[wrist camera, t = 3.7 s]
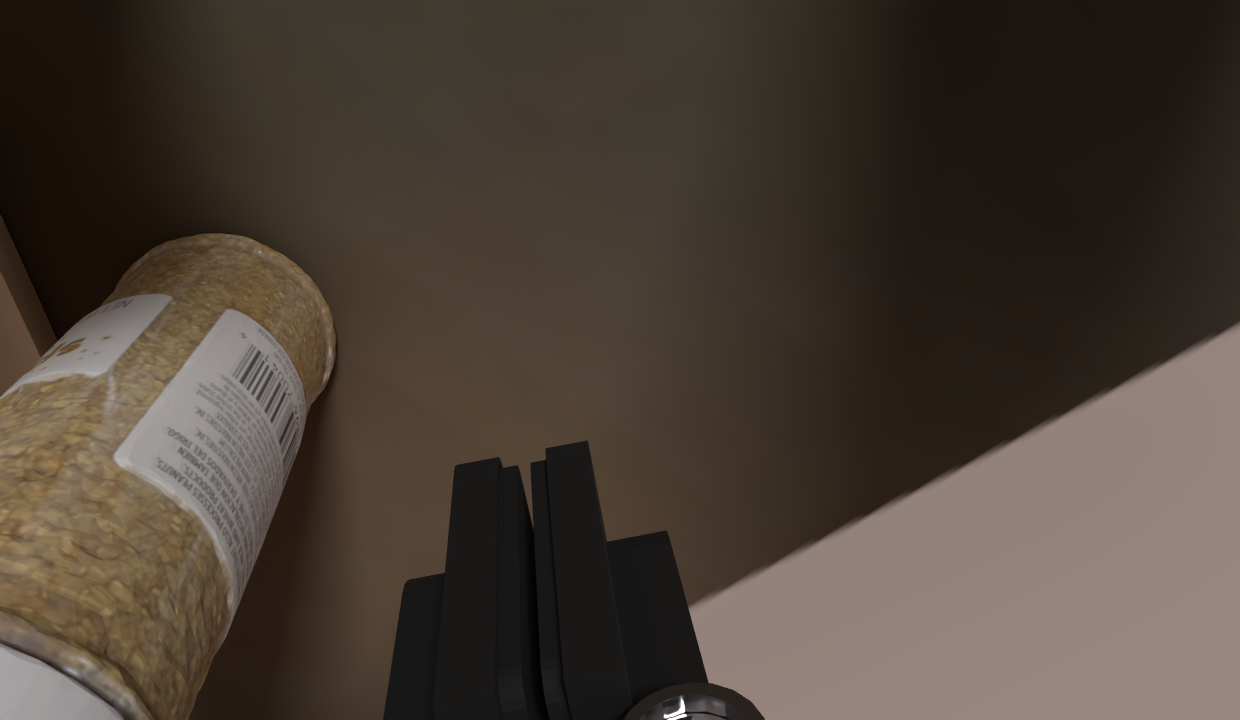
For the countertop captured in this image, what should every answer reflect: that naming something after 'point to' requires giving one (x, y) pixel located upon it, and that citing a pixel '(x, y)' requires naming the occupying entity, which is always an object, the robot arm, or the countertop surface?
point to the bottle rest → (19, 317)
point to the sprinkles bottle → (151, 477)
